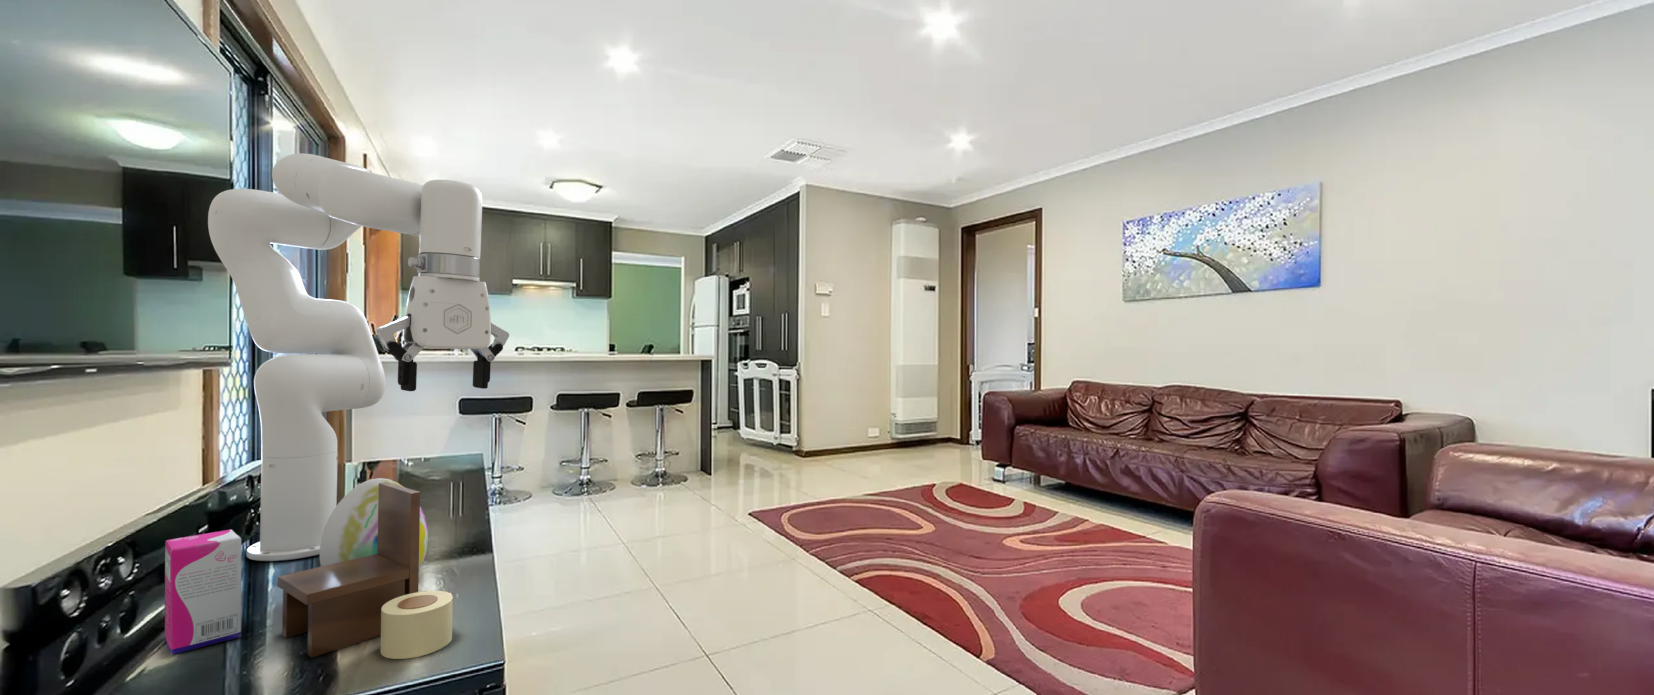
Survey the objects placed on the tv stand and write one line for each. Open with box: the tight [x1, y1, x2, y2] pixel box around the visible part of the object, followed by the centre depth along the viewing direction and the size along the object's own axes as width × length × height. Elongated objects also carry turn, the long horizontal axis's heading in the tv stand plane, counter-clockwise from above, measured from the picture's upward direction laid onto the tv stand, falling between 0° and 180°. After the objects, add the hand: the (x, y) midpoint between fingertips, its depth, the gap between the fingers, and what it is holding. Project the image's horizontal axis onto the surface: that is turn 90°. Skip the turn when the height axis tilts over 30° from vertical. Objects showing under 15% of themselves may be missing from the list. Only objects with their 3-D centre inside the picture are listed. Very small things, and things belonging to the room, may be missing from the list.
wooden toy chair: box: [277, 482, 421, 659], centre depth 75 cm, size 9×11×16 cm
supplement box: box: [164, 529, 242, 656], centre depth 72 cm, size 6×6×12 cm
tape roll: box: [380, 590, 454, 660], centre depth 72 cm, size 7×7×5 cm
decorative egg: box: [319, 477, 429, 570], centre depth 88 cm, size 12×12×15 cm
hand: (445, 389), depth 91 cm, fingers open, 9 cm apart
